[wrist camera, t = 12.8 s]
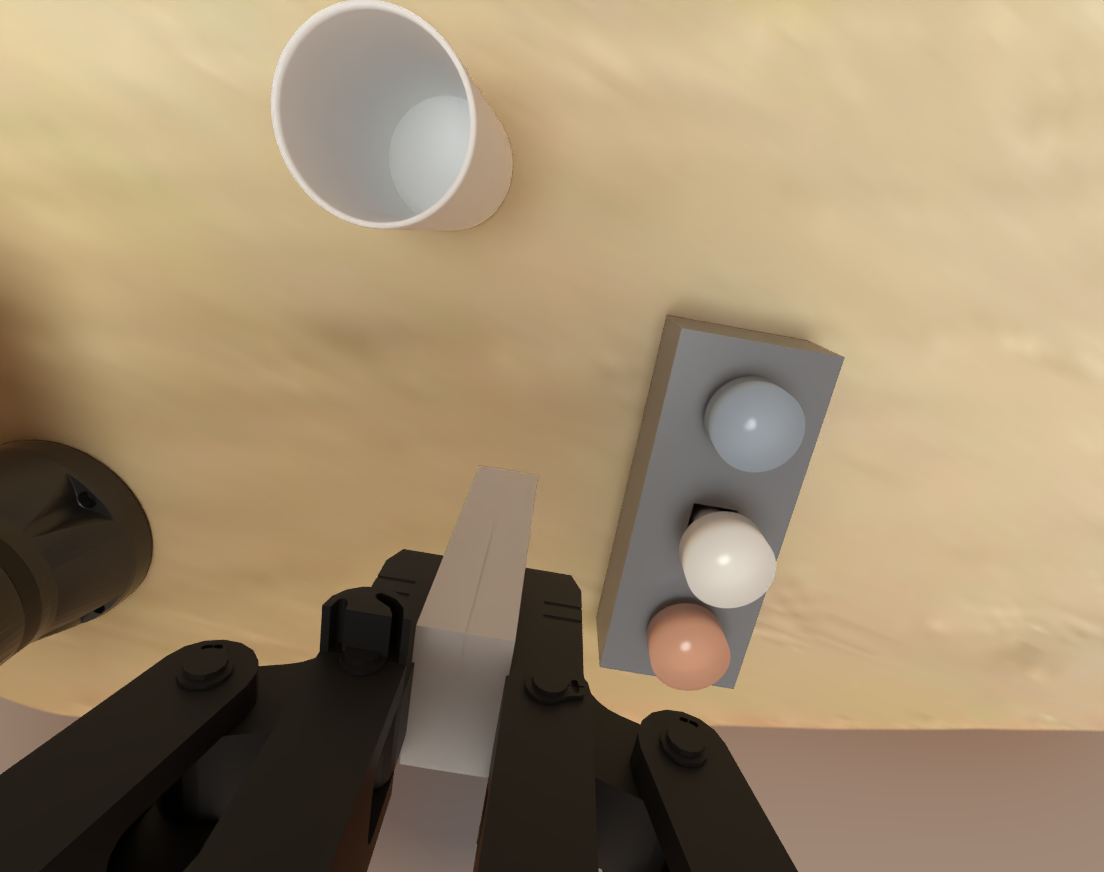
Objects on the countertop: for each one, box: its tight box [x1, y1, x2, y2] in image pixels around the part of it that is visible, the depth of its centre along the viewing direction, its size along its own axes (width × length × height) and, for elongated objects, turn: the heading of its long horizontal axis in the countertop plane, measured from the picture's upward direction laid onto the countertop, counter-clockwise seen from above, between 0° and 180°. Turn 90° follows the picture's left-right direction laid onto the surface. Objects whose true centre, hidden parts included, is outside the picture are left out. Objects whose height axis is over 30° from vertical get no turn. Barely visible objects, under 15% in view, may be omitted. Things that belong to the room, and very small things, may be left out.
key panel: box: [596, 315, 845, 689], centre depth 43 cm, size 10×25×6 cm, turn 170°
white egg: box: [679, 503, 776, 608], centre depth 38 cm, size 5×5×7 cm
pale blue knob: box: [704, 376, 805, 472], centre depth 38 cm, size 5×5×7 cm
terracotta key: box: [646, 603, 731, 691], centre depth 43 cm, size 5×5×7 cm
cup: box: [271, 0, 513, 231], centre depth 31 cm, size 8×8×16 cm
